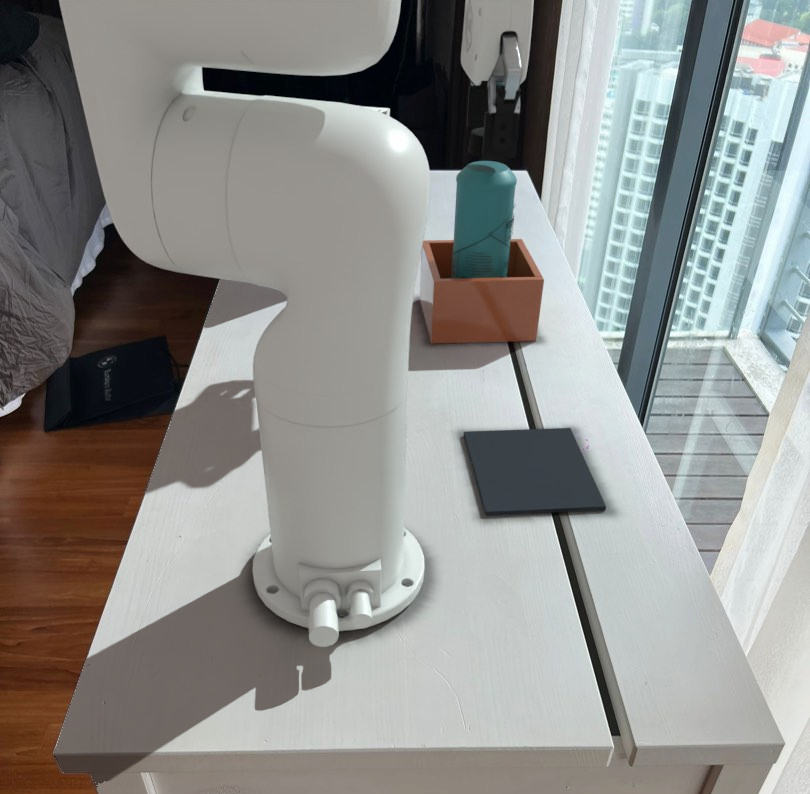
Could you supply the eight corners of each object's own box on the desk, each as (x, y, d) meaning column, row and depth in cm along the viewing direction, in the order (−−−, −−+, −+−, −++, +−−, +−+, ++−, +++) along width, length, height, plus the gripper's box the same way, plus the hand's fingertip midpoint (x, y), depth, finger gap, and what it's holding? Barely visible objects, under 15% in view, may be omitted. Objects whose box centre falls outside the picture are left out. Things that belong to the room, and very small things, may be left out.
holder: (536, 341, 92) (544, 279, 87) (431, 343, 91) (433, 281, 86) (515, 296, 101) (521, 238, 96) (419, 298, 100) (421, 240, 95)
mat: (605, 510, 69) (606, 506, 69) (485, 515, 68) (485, 511, 68) (569, 431, 78) (570, 427, 78) (463, 435, 77) (463, 431, 77)
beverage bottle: (449, 332, 93) (460, 138, 80) (445, 306, 98) (454, 120, 86) (507, 332, 93) (527, 139, 81) (500, 306, 99) (518, 121, 86)
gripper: (449, -78, 79) (441, 119, 90) (479, -57, 66) (465, 170, 77) (528, -77, 80) (510, 119, 91) (572, -56, 67) (545, 169, 78)
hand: (490, 142), depth 84 cm, fingers open, 9 cm apart
